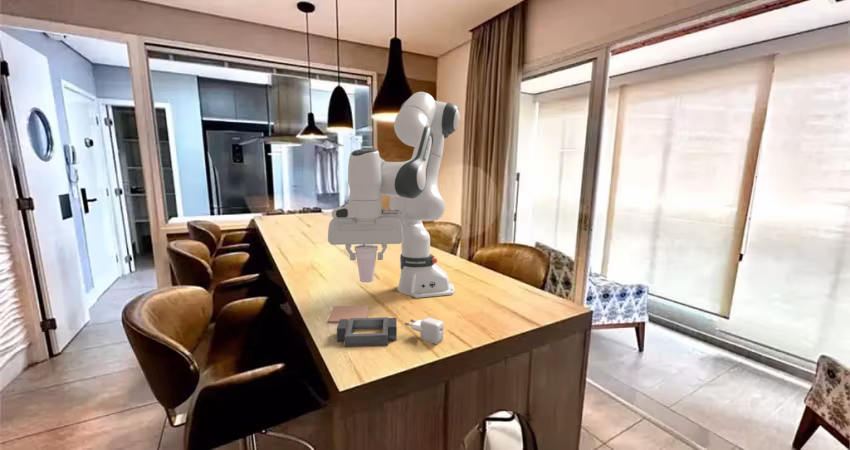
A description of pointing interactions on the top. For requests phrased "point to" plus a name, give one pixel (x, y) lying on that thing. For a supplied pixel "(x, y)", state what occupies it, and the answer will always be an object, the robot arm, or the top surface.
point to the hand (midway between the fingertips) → (366, 259)
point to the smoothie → (366, 261)
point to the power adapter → (428, 329)
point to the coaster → (347, 313)
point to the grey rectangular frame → (366, 339)
